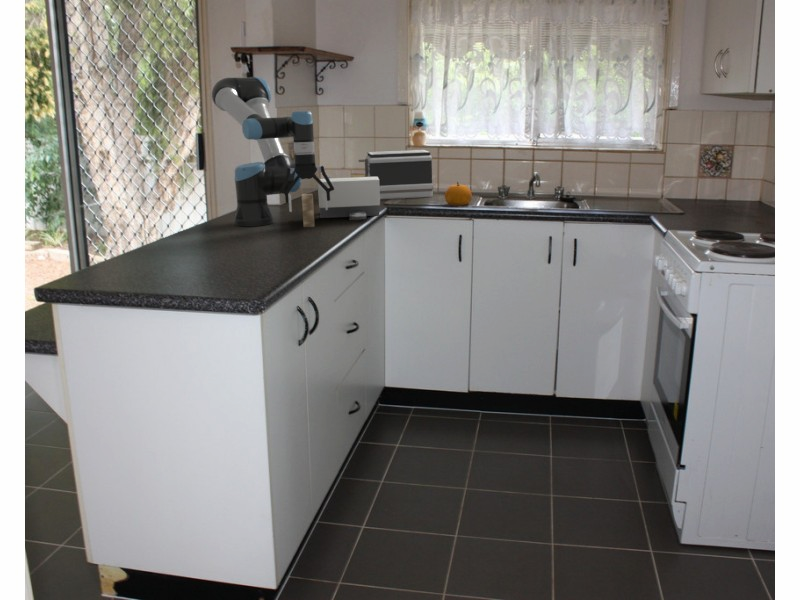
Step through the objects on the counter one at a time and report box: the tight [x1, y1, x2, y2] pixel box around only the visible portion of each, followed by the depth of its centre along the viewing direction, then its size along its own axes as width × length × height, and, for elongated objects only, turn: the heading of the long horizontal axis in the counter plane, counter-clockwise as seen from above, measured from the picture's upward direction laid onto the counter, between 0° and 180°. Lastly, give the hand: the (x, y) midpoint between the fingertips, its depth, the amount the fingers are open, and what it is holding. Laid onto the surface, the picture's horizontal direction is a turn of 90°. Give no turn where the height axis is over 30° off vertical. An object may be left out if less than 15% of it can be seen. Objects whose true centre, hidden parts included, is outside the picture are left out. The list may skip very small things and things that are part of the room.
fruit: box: [444, 181, 473, 207], centre depth 328 cm, size 12×12×10 cm
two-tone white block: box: [317, 176, 381, 219], centre depth 300 cm, size 24×12×16 cm, turn 95°
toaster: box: [358, 149, 434, 200], centre depth 360 cm, size 18×34×21 cm, turn 98°
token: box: [348, 210, 367, 221], centre depth 300 cm, size 7×7×3 cm
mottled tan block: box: [301, 193, 315, 228], centre depth 291 cm, size 4×16×12 cm, turn 5°
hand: (308, 210), depth 285 cm, fingers open, 13 cm apart
